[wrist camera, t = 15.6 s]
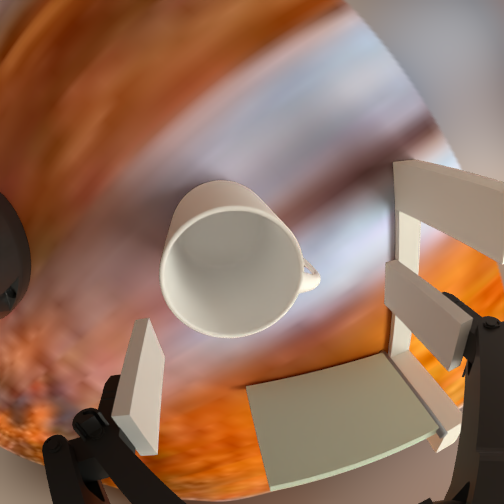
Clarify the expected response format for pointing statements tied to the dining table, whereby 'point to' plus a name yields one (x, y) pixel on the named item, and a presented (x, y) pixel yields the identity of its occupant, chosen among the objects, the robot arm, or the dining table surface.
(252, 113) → the dining table surface
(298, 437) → the door
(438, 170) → the wall frame
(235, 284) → the mug
